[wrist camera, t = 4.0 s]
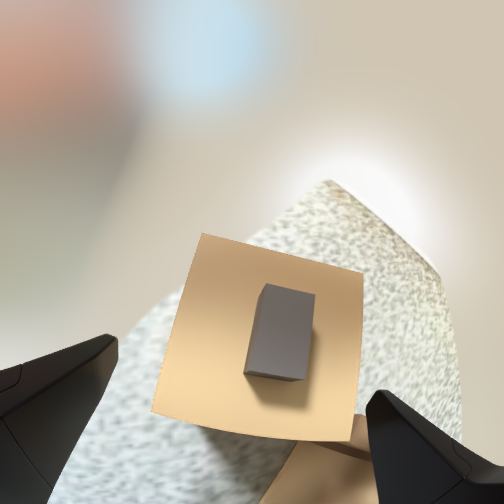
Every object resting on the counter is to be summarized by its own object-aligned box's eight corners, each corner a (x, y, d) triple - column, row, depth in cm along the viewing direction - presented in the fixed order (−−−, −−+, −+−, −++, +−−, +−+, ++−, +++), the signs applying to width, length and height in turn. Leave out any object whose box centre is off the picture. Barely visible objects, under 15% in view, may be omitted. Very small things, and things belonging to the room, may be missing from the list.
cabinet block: (263, 415, 15) (369, 445, 5) (183, 398, 15) (141, 414, 4) (276, 342, 17) (380, 258, 7) (201, 325, 17) (202, 211, 7)
